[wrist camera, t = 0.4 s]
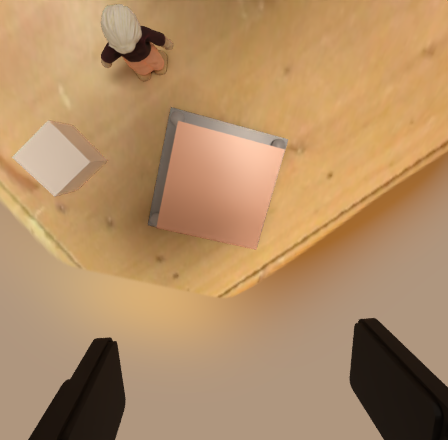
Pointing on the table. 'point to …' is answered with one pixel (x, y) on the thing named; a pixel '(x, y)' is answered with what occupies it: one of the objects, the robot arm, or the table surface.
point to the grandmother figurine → (132, 42)
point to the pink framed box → (215, 179)
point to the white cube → (59, 158)
